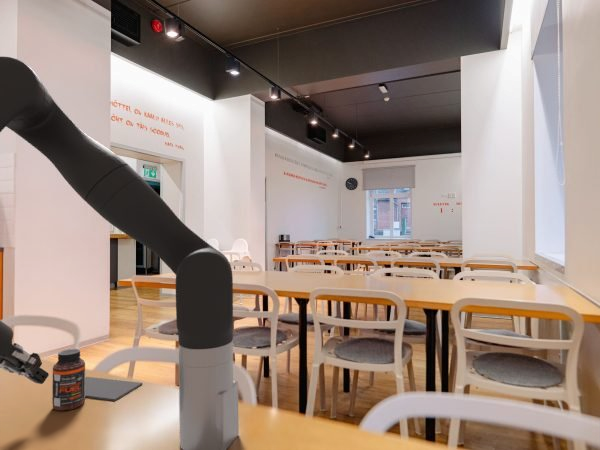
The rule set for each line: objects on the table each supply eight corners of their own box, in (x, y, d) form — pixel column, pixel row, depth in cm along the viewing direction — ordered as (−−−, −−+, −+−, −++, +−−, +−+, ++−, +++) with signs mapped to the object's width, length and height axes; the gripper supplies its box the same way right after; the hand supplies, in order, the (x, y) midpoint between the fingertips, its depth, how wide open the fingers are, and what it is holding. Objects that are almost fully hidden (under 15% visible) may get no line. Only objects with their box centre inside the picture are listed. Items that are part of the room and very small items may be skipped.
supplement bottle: (57, 415, 78) (57, 358, 78) (48, 406, 82) (48, 352, 82) (89, 404, 82) (89, 351, 82) (79, 396, 86) (79, 345, 86)
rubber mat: (142, 384, 93) (142, 382, 93) (114, 401, 84) (114, 399, 84) (87, 378, 97) (87, 376, 97) (55, 393, 88) (55, 391, 88)
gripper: (15, 316, 66) (79, 364, 77) (-35, 311, 70) (33, 357, 82) (-20, 358, 61) (54, 403, 72) (-72, 349, 65) (6, 393, 77)
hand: (43, 378), depth 77 cm, fingers closed
